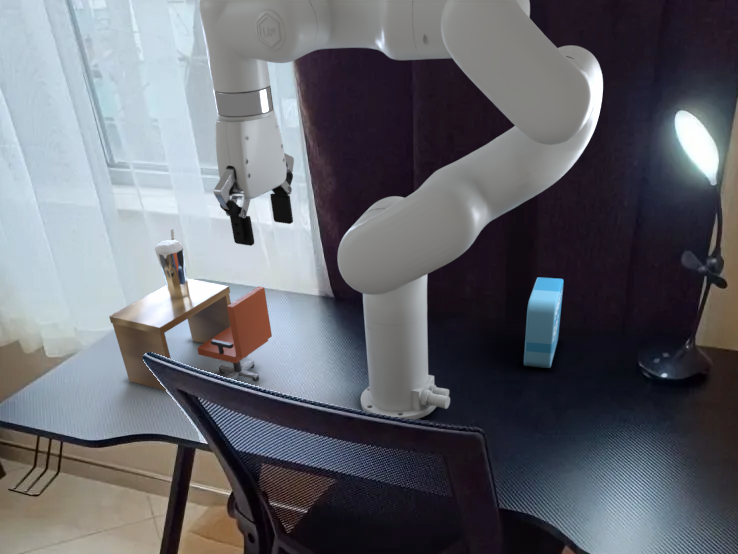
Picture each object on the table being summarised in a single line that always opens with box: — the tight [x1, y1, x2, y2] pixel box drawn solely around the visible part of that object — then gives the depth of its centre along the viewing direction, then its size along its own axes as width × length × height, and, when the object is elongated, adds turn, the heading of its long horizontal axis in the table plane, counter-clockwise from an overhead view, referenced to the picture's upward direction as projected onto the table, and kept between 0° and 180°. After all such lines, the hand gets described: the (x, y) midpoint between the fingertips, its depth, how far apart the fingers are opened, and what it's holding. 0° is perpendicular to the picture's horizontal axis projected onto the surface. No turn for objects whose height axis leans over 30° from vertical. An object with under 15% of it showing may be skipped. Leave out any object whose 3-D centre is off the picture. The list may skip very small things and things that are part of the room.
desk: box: [108, 277, 232, 392], centre depth 137 cm, size 11×18×12 cm, turn 152°
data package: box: [523, 276, 565, 369], centre depth 134 cm, size 12×4×12 cm, turn 164°
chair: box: [196, 285, 273, 383], centre depth 131 cm, size 9×9×15 cm
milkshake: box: [154, 228, 189, 298], centre depth 132 cm, size 4×5×10 cm
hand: (264, 232), depth 115 cm, fingers open, 9 cm apart
